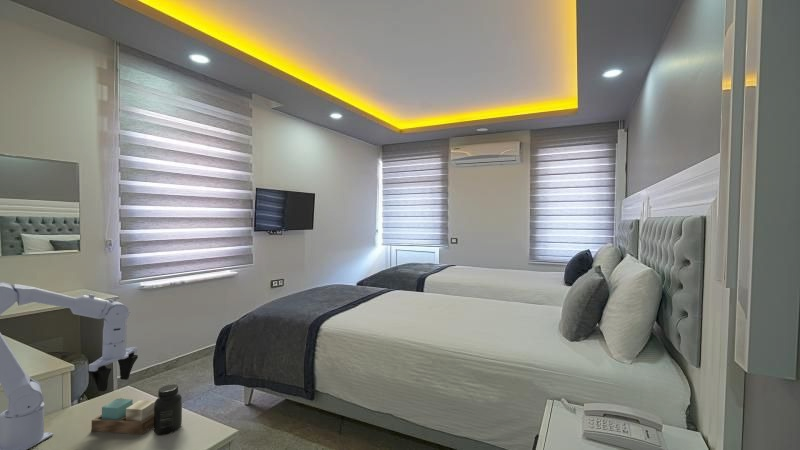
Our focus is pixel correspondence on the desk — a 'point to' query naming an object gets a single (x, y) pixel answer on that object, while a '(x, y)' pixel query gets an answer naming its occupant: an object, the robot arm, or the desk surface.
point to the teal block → (116, 409)
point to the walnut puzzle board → (122, 425)
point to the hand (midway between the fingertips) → (113, 384)
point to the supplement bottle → (167, 410)
